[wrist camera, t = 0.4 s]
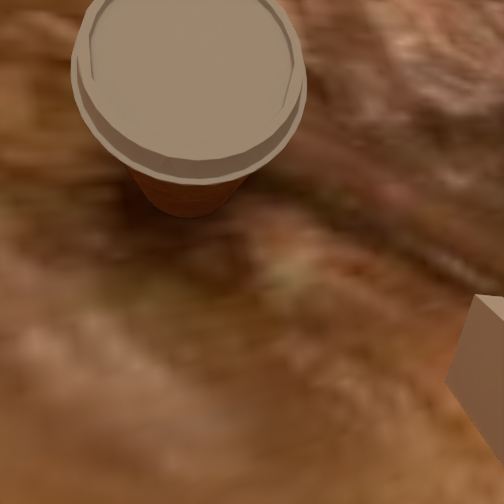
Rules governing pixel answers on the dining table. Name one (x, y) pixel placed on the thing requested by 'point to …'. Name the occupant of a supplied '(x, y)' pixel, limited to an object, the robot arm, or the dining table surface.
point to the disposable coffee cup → (189, 93)
